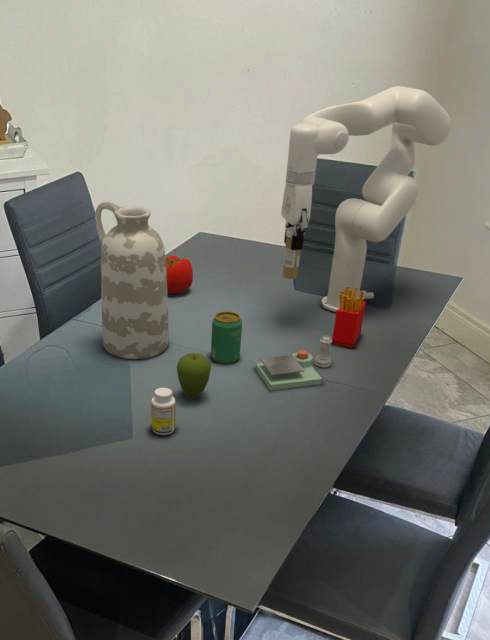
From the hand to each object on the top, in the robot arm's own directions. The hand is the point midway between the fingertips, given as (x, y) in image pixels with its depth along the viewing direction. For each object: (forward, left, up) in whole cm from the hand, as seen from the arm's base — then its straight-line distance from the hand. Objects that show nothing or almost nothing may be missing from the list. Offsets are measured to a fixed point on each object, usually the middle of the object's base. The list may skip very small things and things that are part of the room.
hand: (293, 245), depth 206 cm
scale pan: (+13, +31, -20) cm, 39 cm away
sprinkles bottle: (0, 0, -9) cm, 9 cm away
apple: (+38, +35, -24) cm, 56 cm away
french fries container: (-13, +14, -24) cm, 30 cm away
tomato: (+27, -33, -24) cm, 49 cm away
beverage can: (+24, +17, -24) cm, 37 cm away
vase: (+47, +3, -24) cm, 52 cm away
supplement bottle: (+49, +49, -24) cm, 73 cm away
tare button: (+6, +27, -20) cm, 34 cm away
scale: (+11, +31, -23) cm, 40 cm away
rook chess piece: (-1, +27, -24) cm, 36 cm away
